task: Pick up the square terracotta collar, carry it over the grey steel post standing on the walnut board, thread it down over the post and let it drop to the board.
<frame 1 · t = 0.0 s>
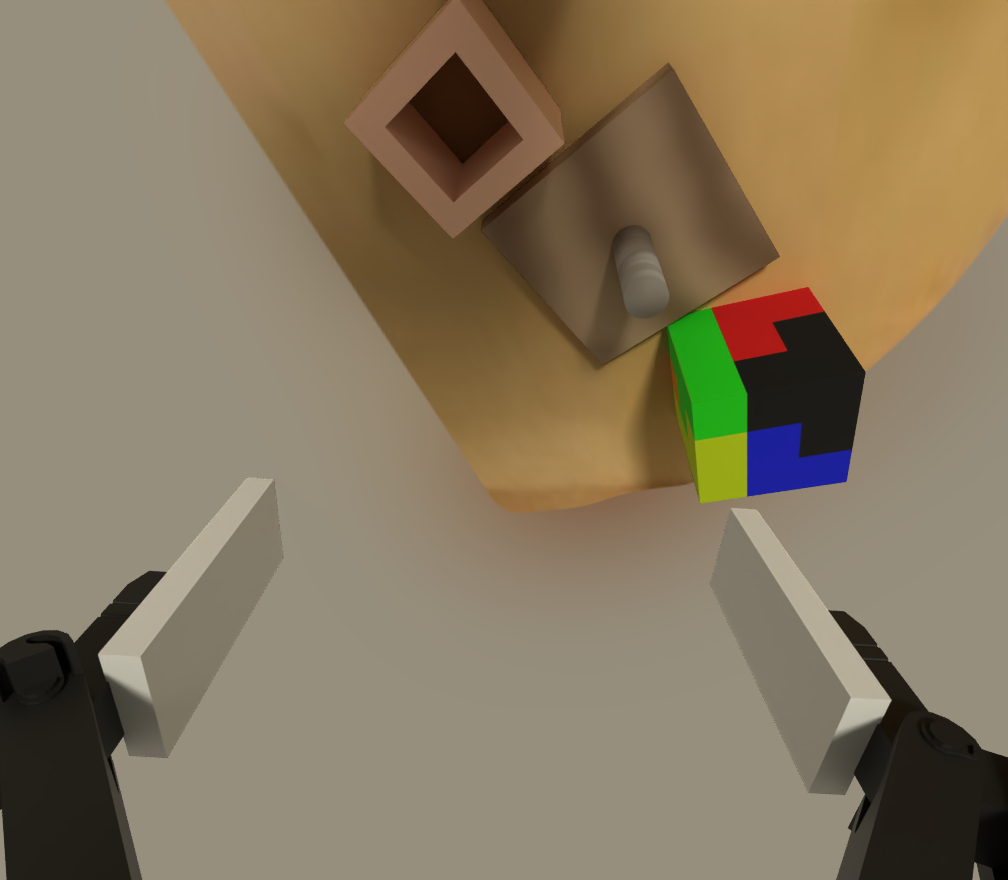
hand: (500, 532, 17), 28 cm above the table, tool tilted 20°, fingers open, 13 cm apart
collar: (463, 100, 34), on the table
puzzle toy: (734, 354, 46), on the table
post: (628, 233, 39), on the table
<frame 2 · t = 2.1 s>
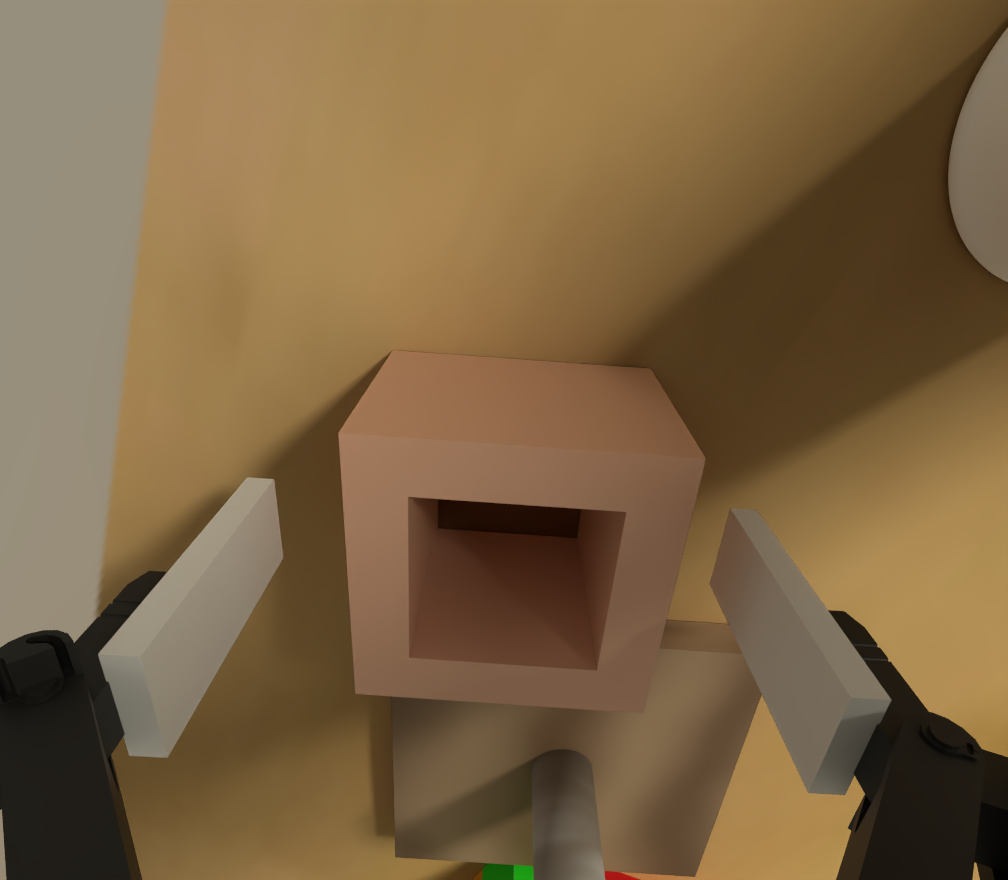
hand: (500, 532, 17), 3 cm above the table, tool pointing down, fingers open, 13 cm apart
collar: (512, 472, 20), on the table
post: (559, 736, 26), on the table
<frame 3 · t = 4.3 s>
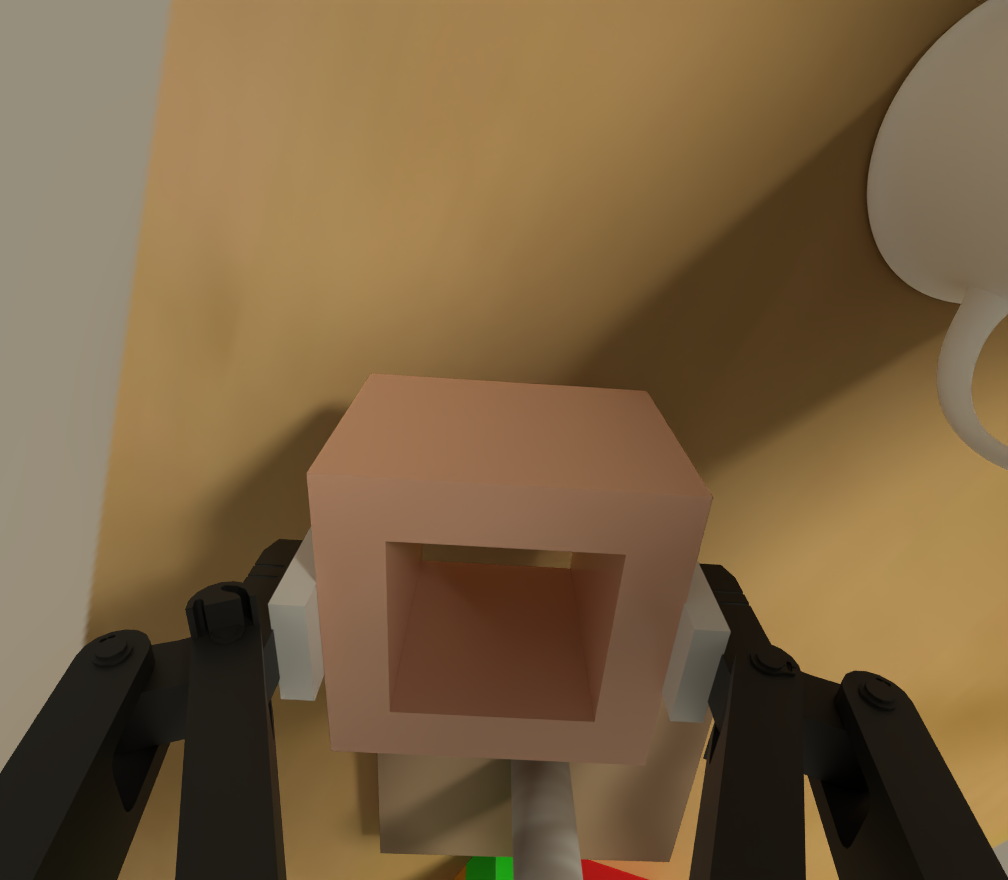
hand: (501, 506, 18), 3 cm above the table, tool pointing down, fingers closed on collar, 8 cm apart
collar: (500, 500, 19), point 3 cm above the table, touching gripper
mug: (962, 204, 18), on the table
post: (537, 728, 27), on the table
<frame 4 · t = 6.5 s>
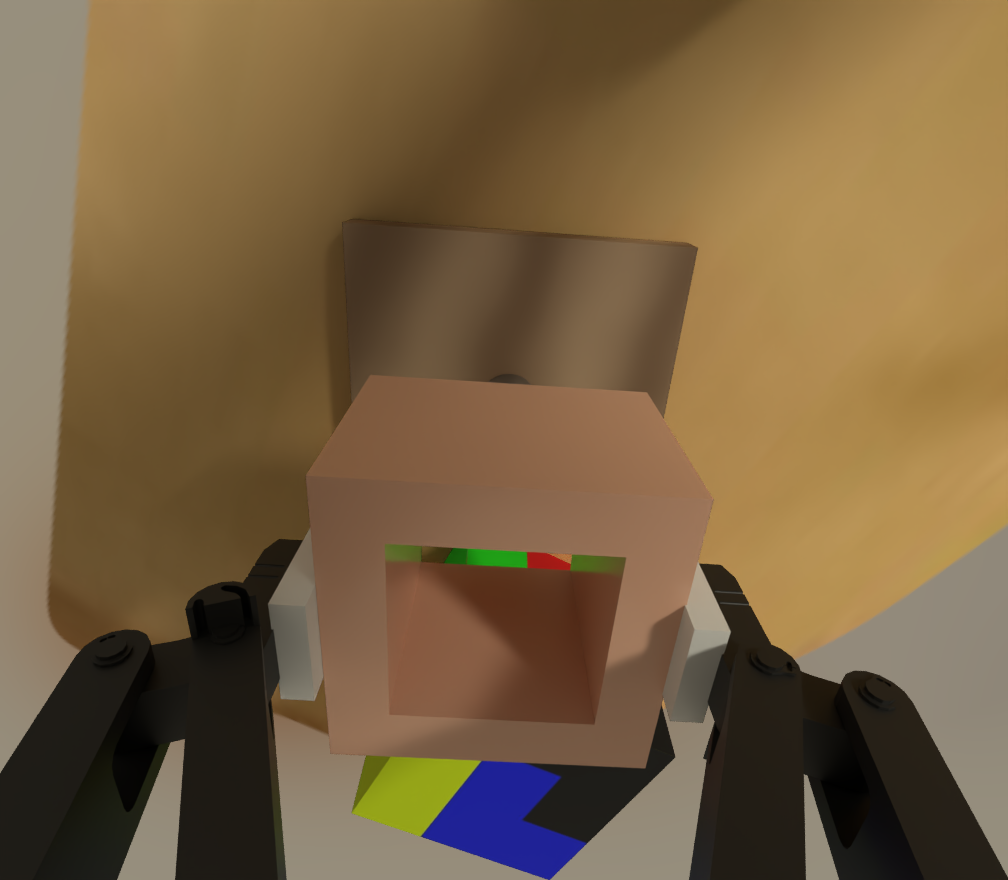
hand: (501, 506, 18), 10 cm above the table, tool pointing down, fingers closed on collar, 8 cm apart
collar: (500, 502, 19), point 10 cm above the table, touching gripper
puzzle toy: (509, 615, 34), on the table
post: (508, 388, 27), on the table
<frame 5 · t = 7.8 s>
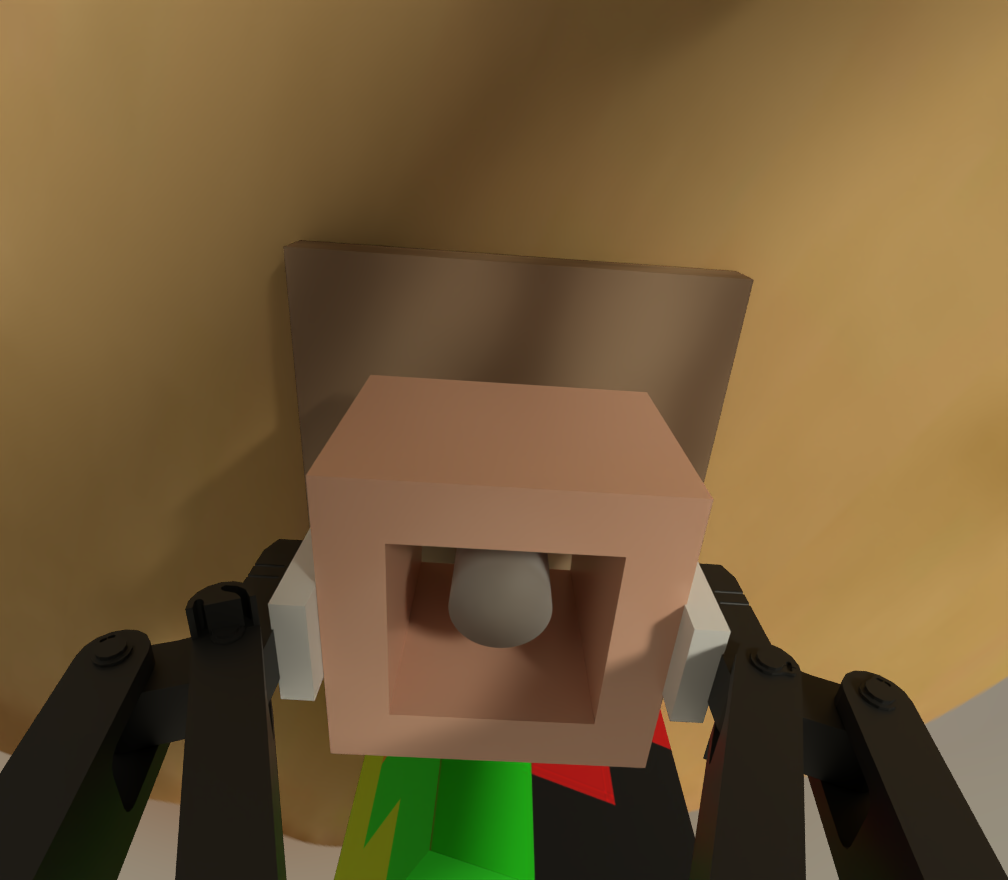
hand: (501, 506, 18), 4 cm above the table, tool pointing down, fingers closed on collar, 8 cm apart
collar: (500, 502, 19), point 4 cm above the table, touching gripper
puzzle toy: (506, 709, 28), on the table
post: (504, 450, 22), on the table
when the fingers open (3 cm above the table, at t = 8.9 s): collar stays where it is, resting on post.
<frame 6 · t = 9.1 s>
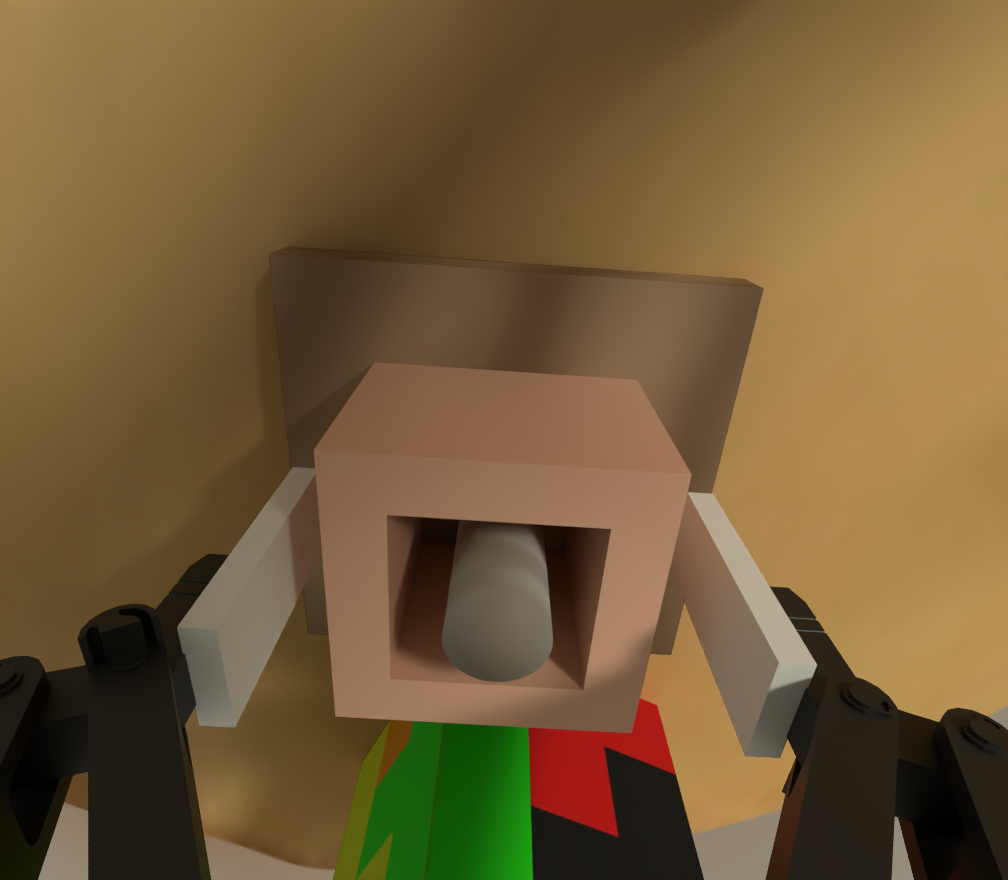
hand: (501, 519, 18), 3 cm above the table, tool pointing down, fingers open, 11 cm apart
collar: (498, 485, 19), point 1 cm above the table, touching post
puzzle toy: (504, 729, 27), on the table
post: (502, 465, 21), on the table
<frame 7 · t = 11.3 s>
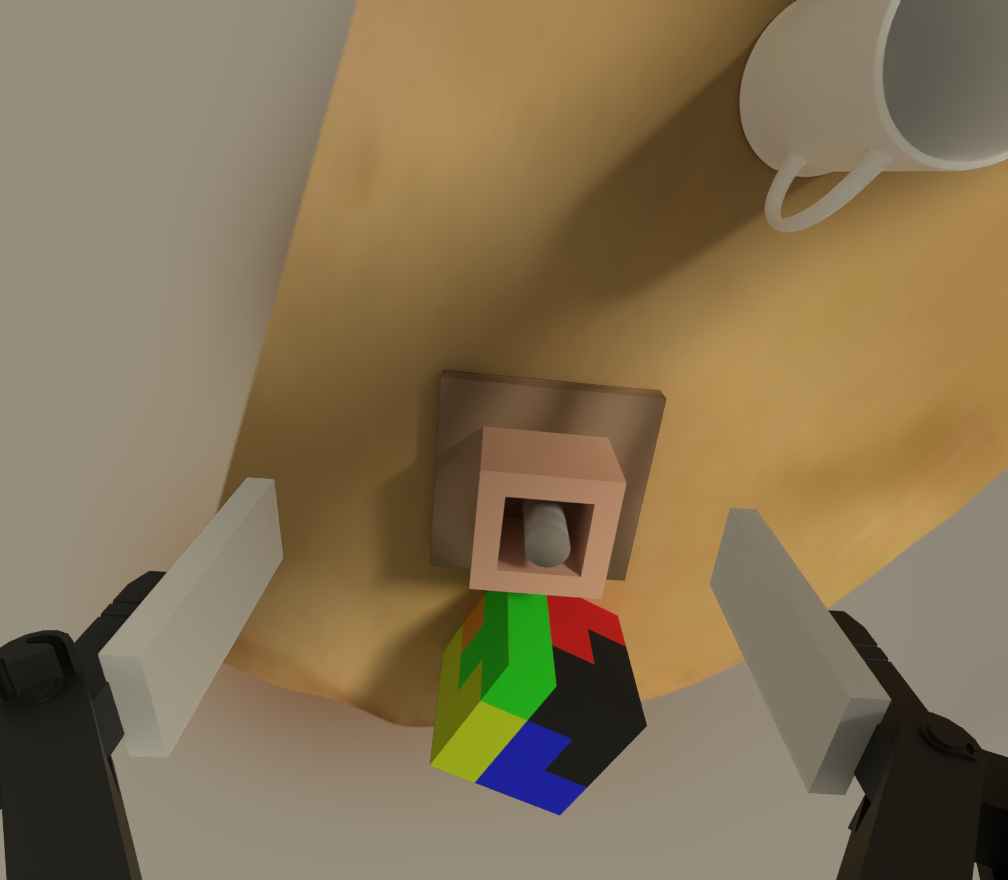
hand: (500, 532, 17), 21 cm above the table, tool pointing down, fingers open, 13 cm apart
collar: (538, 486, 39), point 1 cm above the table, touching post
mug: (795, 116, 31), on the table
puzzle toy: (529, 631, 46), on the table
post: (538, 476, 40), on the table
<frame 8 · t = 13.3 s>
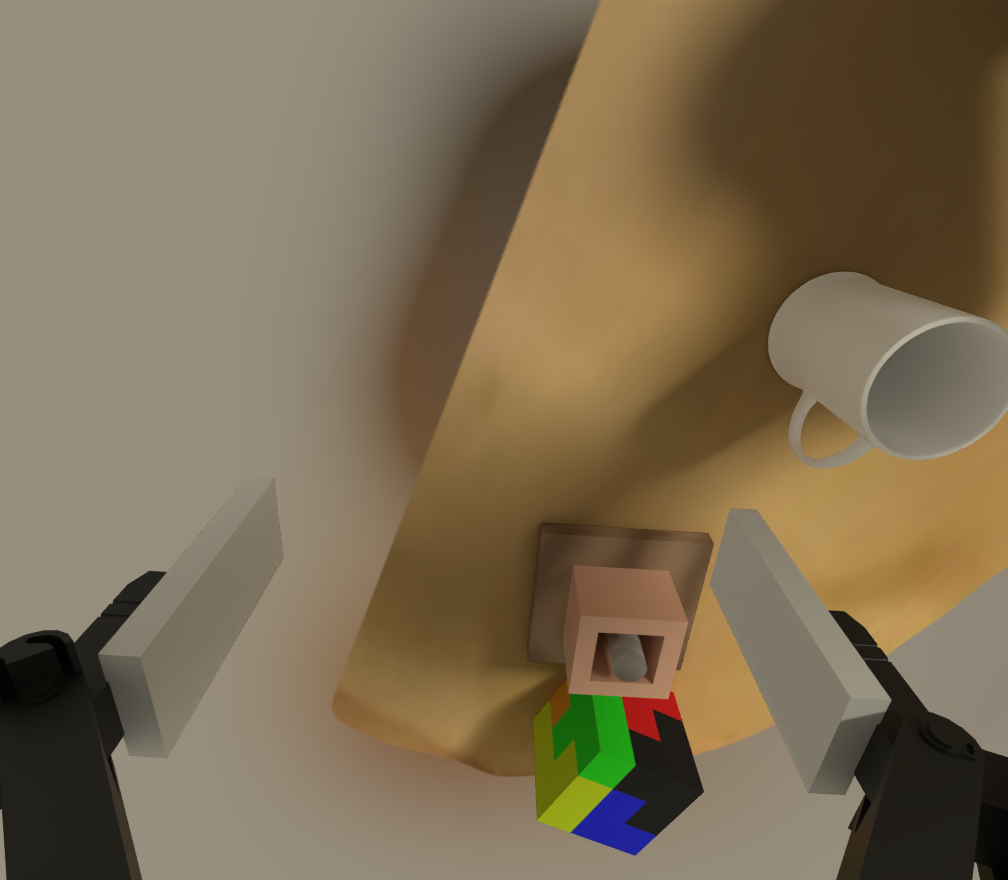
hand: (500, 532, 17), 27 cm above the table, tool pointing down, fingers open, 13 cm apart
collar: (613, 605, 50), point 1 cm above the table, touching post
mug: (809, 350, 42), on the table
puzzle toy: (601, 704, 58), on the table
post: (612, 594, 52), on the table
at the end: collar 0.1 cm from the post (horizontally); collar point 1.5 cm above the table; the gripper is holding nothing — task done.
